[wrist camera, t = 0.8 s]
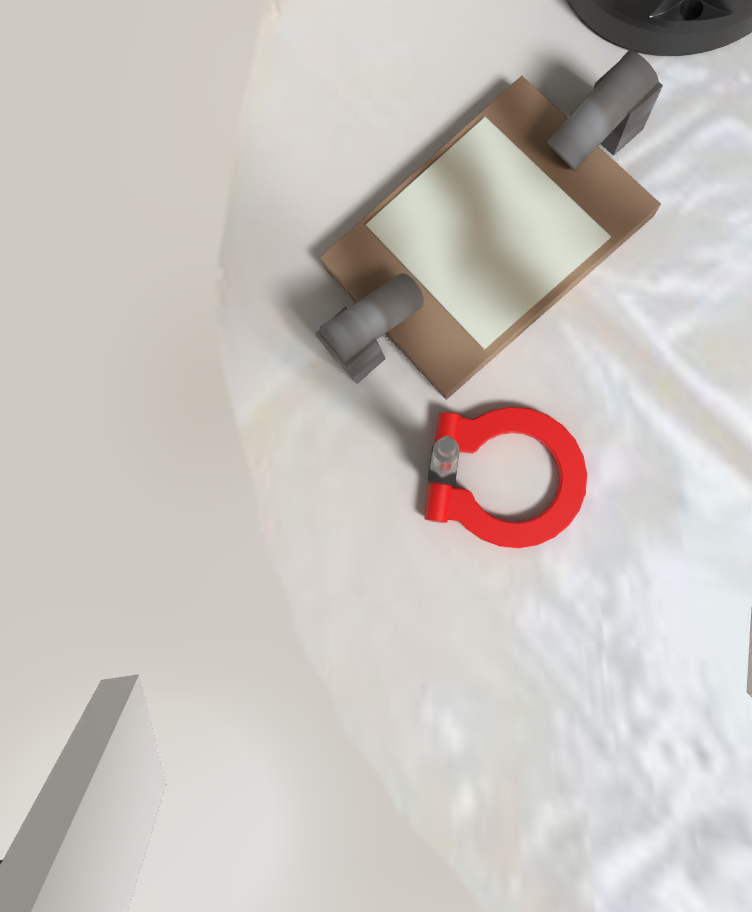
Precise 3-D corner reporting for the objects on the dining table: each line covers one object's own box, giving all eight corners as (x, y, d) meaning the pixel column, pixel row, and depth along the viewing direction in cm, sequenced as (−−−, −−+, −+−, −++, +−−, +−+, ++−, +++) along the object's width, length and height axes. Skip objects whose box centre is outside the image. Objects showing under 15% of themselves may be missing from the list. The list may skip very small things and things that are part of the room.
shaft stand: (561, 54, 41) (576, -21, 35) (697, 177, 39) (737, 118, 33) (284, 303, 41) (256, 268, 36) (403, 437, 39) (394, 422, 34)
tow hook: (590, 419, 38) (439, 400, 39) (667, 371, 26) (441, 344, 27) (574, 556, 38) (421, 533, 39) (645, 577, 25) (414, 542, 26)
